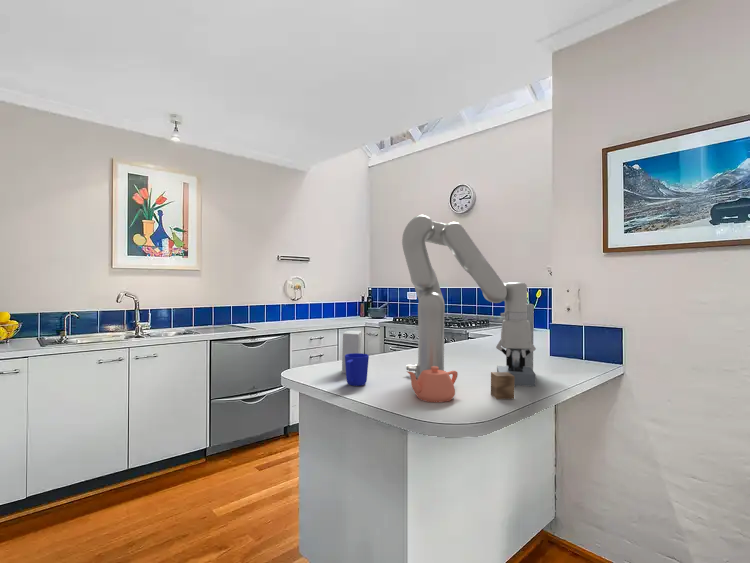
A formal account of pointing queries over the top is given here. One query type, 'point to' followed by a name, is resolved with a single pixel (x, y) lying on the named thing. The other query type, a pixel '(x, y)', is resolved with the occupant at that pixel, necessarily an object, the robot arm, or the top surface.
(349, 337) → the skincare box
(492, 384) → the square peg
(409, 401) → the top surface
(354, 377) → the mug
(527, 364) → the vase
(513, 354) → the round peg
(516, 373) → the socket block
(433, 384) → the teapot
